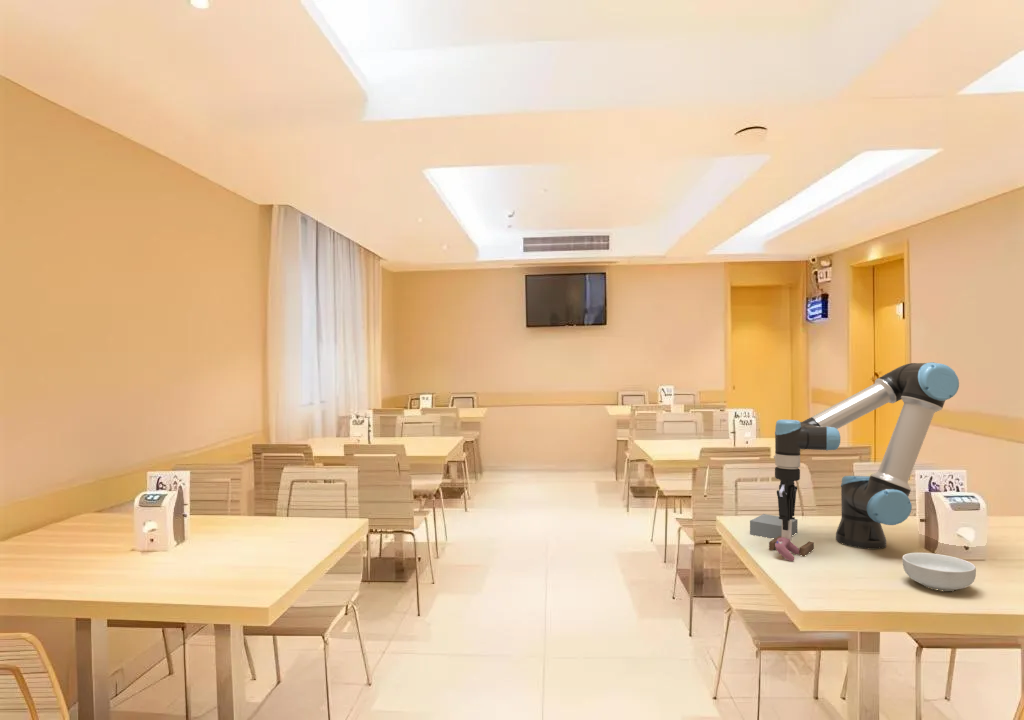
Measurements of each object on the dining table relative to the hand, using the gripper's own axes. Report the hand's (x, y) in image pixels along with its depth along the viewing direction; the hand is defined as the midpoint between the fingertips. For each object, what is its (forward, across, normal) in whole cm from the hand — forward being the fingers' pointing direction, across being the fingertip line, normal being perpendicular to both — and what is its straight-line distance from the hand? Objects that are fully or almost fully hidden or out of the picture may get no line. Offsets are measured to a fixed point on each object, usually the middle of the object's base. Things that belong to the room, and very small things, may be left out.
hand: (786, 539), depth 199 cm
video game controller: (+4, +5, +2) cm, 7 cm away
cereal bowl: (+4, +4, +41) cm, 42 cm away
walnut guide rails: (+4, -4, 0) cm, 6 cm away
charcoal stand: (+4, -20, -11) cm, 23 cm away
